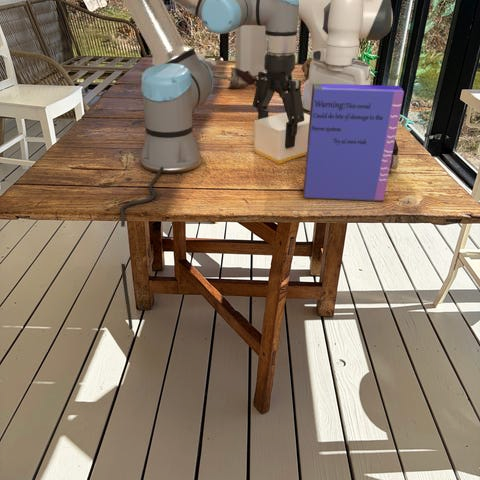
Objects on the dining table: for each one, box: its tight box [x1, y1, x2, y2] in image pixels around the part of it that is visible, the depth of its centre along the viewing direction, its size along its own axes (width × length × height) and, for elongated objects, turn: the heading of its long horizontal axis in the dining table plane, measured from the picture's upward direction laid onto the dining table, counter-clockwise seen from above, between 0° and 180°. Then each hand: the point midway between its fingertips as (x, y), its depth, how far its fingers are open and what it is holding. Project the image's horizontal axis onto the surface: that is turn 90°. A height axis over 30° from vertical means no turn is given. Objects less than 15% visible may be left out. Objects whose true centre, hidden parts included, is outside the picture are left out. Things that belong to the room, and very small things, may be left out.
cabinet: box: [253, 112, 310, 164], centre depth 129 cm, size 14×10×9 cm
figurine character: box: [388, 138, 399, 176], centre depth 121 cm, size 7×8×15 cm
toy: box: [151, 50, 218, 67], centre depth 224 cm, size 24×25×7 cm
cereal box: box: [302, 84, 405, 202], centre depth 102 cm, size 17×5×24 cm, turn 86°
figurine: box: [213, 66, 258, 89], centre depth 190 cm, size 24×8×30 cm
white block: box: [234, 25, 267, 77], centre depth 210 cm, size 19×15×28 cm
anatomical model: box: [301, 56, 312, 81], centre depth 205 cm, size 13×9×15 cm
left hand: (275, 141), depth 127 cm, fingers closed on cabinet, 10 cm apart
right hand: (335, 107), depth 135 cm, fingers closed
